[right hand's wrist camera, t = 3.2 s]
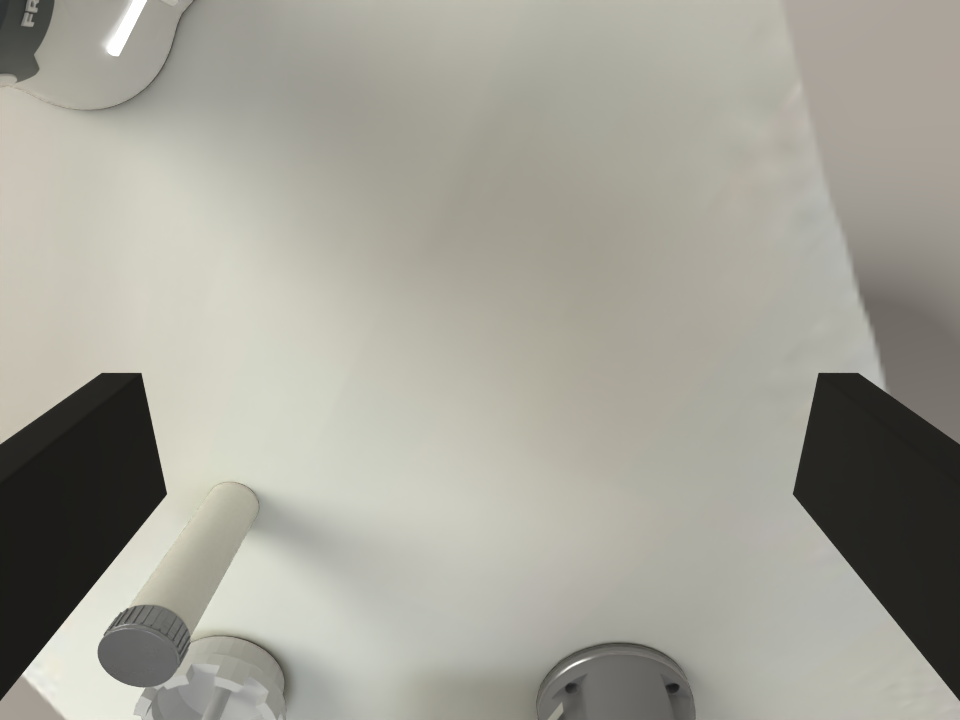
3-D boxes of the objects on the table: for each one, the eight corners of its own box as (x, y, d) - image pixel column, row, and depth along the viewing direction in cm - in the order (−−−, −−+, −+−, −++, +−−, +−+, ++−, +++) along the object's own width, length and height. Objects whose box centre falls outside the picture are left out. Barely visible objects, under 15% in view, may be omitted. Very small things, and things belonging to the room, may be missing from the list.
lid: (136, 590, 40) (119, 614, 39) (206, 629, 42) (192, 654, 40) (100, 637, 42) (81, 663, 40) (168, 674, 43) (153, 700, 41)
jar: (224, 472, 54) (125, 614, 39) (268, 500, 55) (189, 649, 40) (198, 507, 56) (92, 657, 40) (242, 533, 57) (155, 689, 41)
